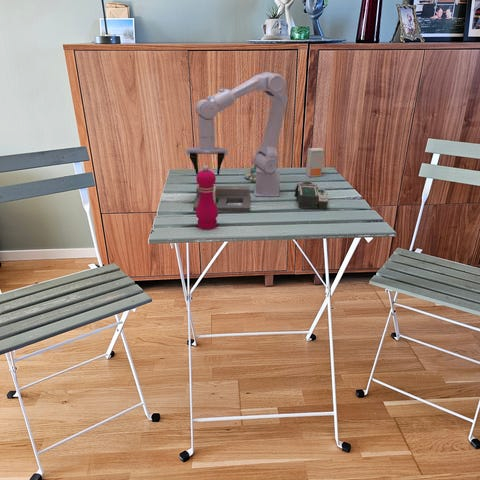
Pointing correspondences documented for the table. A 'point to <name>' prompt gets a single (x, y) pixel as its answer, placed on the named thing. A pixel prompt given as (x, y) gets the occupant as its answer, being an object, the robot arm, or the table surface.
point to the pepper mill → (206, 200)
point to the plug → (214, 194)
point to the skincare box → (314, 162)
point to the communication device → (310, 195)
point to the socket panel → (229, 198)
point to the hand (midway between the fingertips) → (207, 173)
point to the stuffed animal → (251, 173)
